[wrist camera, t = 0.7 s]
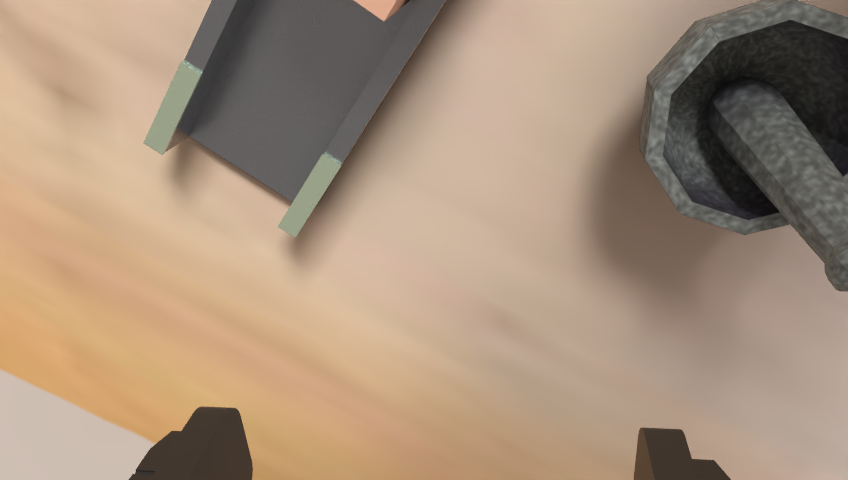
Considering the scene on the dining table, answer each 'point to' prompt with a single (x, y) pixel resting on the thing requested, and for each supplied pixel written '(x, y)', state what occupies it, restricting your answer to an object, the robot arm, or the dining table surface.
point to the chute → (287, 88)
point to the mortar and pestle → (757, 124)
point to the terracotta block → (382, 7)
